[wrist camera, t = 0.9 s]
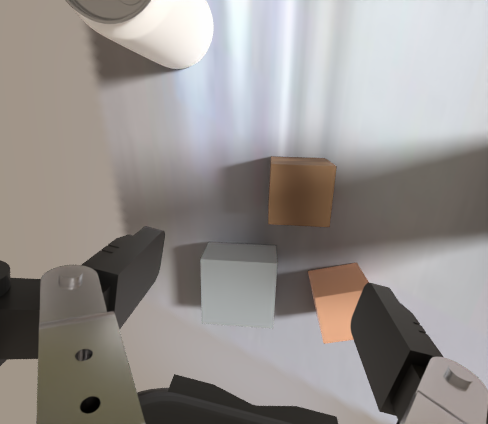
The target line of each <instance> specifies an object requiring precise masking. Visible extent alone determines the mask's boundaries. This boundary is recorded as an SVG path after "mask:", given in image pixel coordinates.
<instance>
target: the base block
mask: <svg viewBox="0 0 488 424" xmlns="http://www.w3.org/2000/svg"><path fill="white" fill-rule="evenodd" d="M200 264H201V310H202V324H213V325H227V326H241V327H255V328H269V329H273V325H274V309H275V293H276V278H277V250H276V245H257V244H238V243H219V242H208V244H207V246H206V249H205V251H204V253H203V255H202V257H201V259H200Z"/></svg>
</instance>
